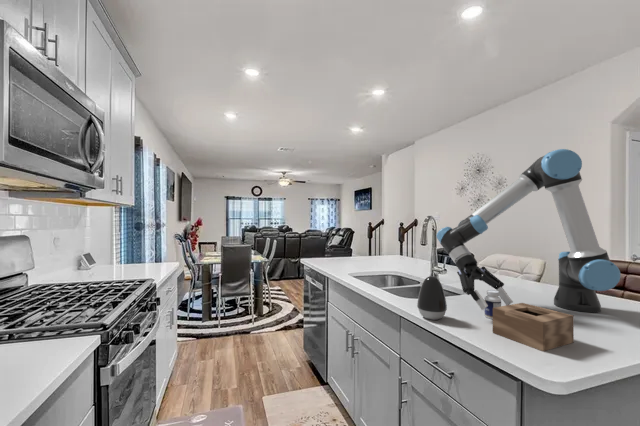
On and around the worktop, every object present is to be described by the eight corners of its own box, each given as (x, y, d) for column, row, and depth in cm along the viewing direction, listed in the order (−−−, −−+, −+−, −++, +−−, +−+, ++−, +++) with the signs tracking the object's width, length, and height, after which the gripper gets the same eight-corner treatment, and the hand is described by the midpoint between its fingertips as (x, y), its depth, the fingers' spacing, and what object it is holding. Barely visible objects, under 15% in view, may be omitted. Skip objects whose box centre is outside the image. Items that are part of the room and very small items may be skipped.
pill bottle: (481, 315, 117) (481, 289, 117) (494, 315, 118) (494, 289, 118) (490, 320, 112) (490, 292, 112) (504, 319, 112) (504, 292, 113)
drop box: (522, 326, 106) (522, 302, 106) (573, 342, 92) (573, 315, 92) (492, 332, 99) (492, 307, 99) (543, 351, 86) (542, 322, 86)
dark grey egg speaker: (445, 314, 117) (446, 274, 118) (447, 323, 108) (447, 279, 108) (417, 312, 121) (417, 272, 121) (416, 320, 111) (417, 277, 111)
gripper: (478, 263, 134) (512, 307, 121) (435, 266, 124) (467, 315, 110) (490, 252, 130) (526, 296, 116) (446, 254, 119) (480, 304, 105)
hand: (497, 305), depth 113 cm, fingers open, 13 cm apart
